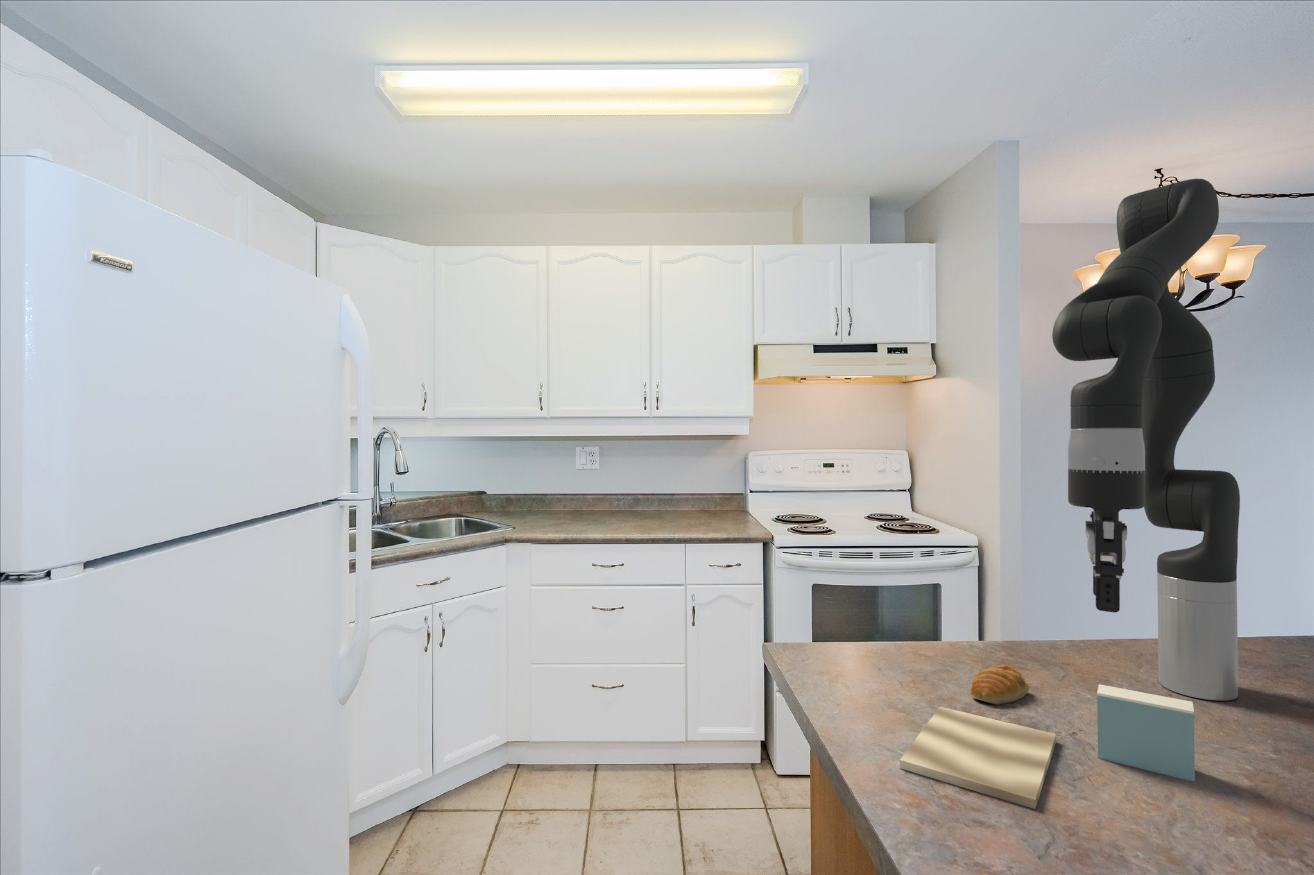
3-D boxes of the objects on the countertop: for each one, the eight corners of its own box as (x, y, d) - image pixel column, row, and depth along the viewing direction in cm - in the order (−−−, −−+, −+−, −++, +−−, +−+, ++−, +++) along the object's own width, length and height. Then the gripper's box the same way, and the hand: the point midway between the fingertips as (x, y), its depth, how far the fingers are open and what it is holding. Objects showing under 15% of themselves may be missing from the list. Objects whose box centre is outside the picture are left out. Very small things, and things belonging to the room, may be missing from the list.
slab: (1099, 747, 80) (1098, 684, 80) (1193, 769, 74) (1192, 701, 74) (1098, 758, 77) (1097, 692, 77) (1194, 782, 72) (1193, 711, 72)
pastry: (1006, 712, 90) (1005, 686, 90) (958, 698, 96) (957, 673, 96) (1032, 694, 96) (1031, 669, 96) (985, 682, 102) (985, 658, 102)
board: (940, 713, 90) (939, 706, 90) (1056, 741, 81) (1056, 733, 81) (899, 768, 76) (899, 759, 76) (1035, 809, 67) (1035, 799, 67)
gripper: (1151, 469, 68) (1152, 622, 68) (1139, 466, 80) (1139, 596, 80) (1068, 467, 72) (1068, 611, 72) (1067, 465, 84) (1068, 588, 84)
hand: (1105, 603), depth 76 cm, fingers open, 8 cm apart
